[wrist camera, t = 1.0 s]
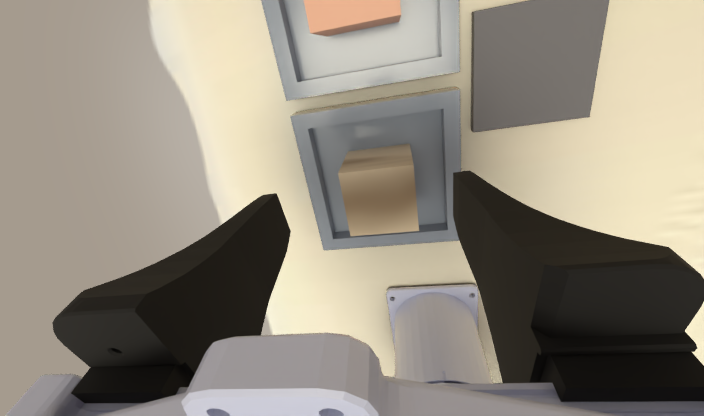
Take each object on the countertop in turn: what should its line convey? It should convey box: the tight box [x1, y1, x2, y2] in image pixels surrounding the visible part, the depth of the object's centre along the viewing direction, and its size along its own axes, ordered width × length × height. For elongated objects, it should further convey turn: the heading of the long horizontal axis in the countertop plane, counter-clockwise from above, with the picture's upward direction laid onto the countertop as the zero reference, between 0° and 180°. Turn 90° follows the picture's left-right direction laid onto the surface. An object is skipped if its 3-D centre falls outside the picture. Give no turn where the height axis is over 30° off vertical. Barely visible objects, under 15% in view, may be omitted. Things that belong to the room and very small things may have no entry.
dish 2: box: [290, 87, 461, 250], centre depth 23 cm, size 11×11×2 cm
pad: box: [471, 0, 609, 132], centre depth 19 cm, size 7×7×1 cm
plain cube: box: [338, 144, 419, 236], centre depth 21 cm, size 4×4×4 cm
